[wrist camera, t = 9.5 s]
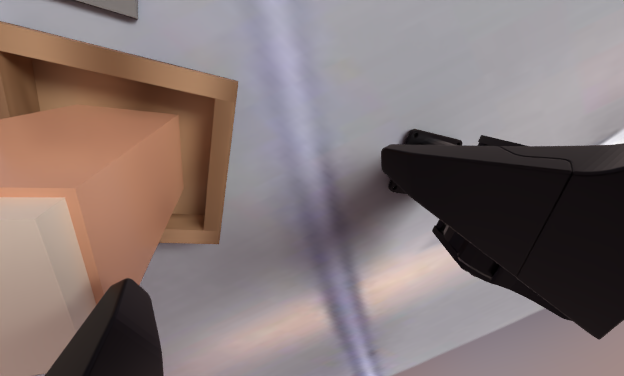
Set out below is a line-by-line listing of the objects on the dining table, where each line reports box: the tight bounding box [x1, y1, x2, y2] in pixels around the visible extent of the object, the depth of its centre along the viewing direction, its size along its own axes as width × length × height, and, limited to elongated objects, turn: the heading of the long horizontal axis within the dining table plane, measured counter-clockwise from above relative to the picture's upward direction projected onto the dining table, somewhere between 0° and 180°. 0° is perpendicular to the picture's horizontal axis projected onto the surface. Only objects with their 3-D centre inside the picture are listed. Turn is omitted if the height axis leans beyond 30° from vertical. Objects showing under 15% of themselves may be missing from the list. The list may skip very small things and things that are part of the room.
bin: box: [0, 21, 238, 244], centre depth 16 cm, size 12×12×3 cm
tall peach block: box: [0, 104, 184, 376], centre depth 11 cm, size 6×6×13 cm
